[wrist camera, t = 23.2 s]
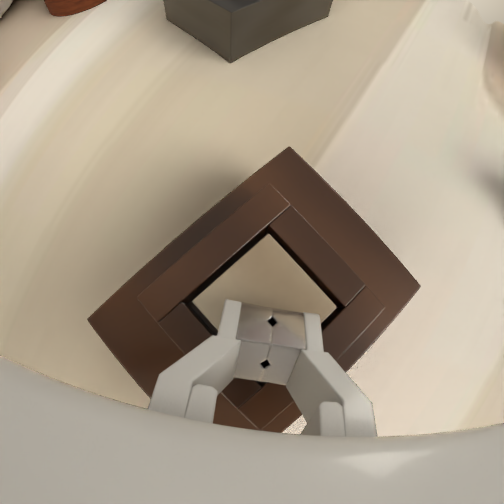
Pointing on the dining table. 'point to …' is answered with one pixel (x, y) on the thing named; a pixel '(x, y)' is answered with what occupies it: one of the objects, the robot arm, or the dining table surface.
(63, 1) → the music box
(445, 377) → the dining table surface
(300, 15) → the key box
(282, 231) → the key box
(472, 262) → the dining table surface
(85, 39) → the dining table surface
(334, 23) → the dining table surface
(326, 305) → the beige square block
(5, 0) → the head bust
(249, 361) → the robot arm
